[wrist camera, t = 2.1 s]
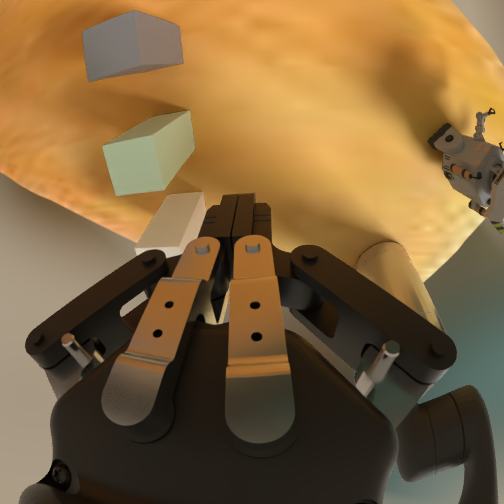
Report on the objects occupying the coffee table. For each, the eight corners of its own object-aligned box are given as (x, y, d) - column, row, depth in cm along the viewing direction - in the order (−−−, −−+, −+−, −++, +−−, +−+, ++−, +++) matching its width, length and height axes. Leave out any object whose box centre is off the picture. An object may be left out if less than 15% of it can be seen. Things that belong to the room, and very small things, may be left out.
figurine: (491, 147, 27) (557, 195, 15) (446, 190, 33) (503, 253, 21) (468, 98, 24) (546, 134, 12) (418, 145, 29) (486, 200, 18)
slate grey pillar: (179, 25, 22) (134, 10, 13) (183, 63, 25) (140, 64, 16) (139, 36, 23) (82, 31, 13) (144, 72, 26) (88, 82, 16)
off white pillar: (203, 191, 36) (179, 246, 26) (208, 223, 39) (190, 284, 29) (167, 194, 36) (134, 248, 27) (175, 225, 39) (148, 283, 30)
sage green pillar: (189, 110, 29) (152, 135, 20) (195, 148, 32) (164, 190, 23) (151, 117, 29) (101, 146, 20) (158, 153, 32) (116, 196, 23)
